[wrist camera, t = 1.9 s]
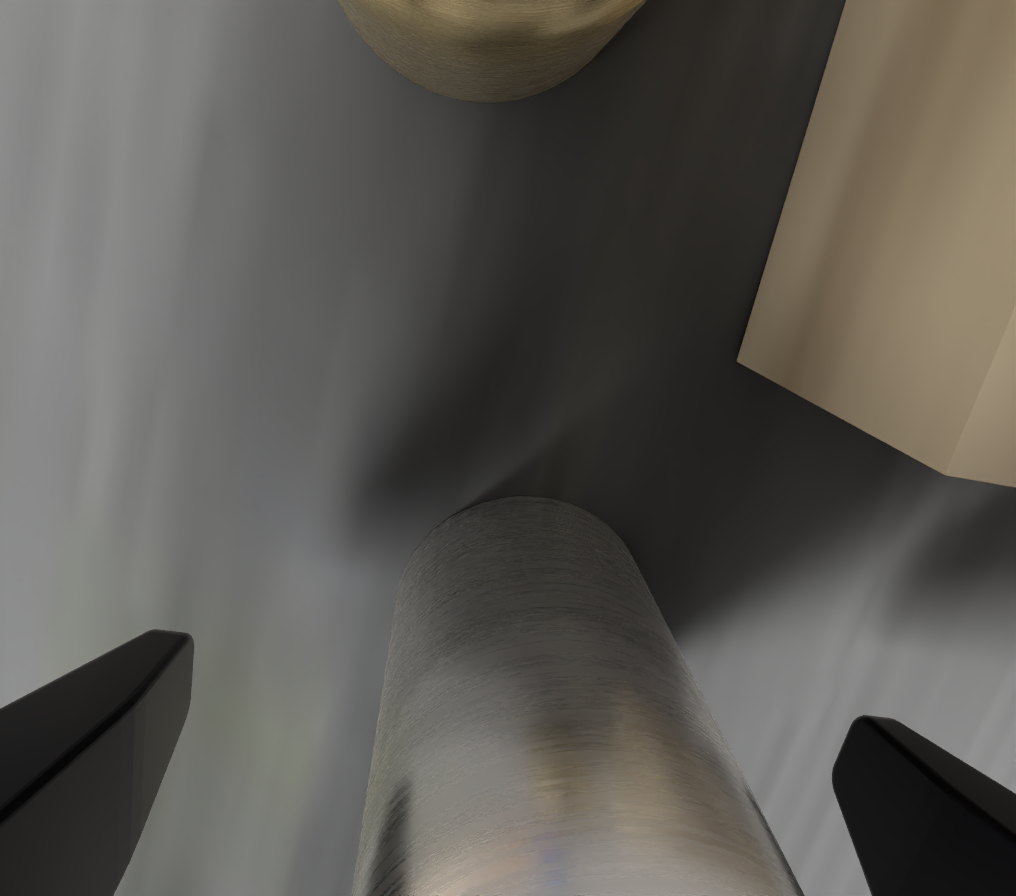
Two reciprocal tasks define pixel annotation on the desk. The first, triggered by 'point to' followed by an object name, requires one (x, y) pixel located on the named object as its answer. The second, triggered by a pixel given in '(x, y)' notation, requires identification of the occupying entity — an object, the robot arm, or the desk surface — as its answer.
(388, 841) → the long pin
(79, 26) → the desk surface
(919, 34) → the bore block
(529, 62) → the gold rounded piece
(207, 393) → the desk surface
